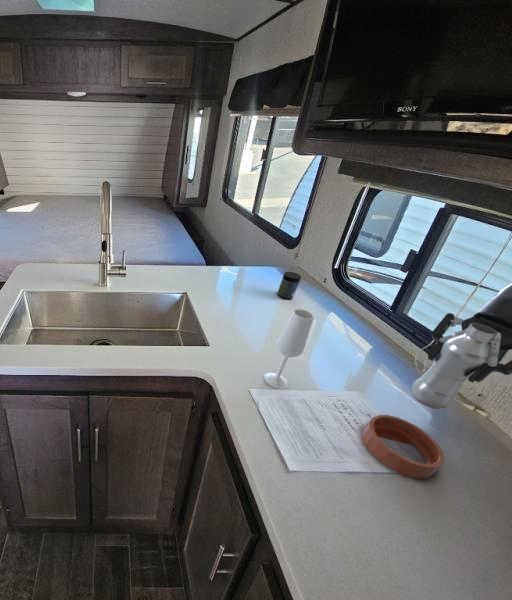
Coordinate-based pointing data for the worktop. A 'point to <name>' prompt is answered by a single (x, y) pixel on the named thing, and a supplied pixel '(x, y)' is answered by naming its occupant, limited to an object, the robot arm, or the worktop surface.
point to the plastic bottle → (454, 366)
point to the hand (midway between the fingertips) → (449, 368)
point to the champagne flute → (291, 344)
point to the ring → (405, 434)
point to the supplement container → (288, 285)
